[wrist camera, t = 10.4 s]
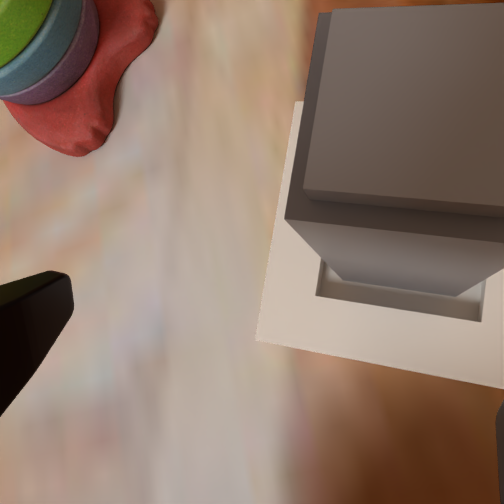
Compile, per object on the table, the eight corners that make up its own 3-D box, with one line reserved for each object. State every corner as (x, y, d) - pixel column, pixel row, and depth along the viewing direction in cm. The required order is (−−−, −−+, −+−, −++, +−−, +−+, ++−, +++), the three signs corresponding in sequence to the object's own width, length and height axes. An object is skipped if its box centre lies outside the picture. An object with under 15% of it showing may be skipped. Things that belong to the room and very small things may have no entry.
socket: (561, 120, 21) (571, 108, 19) (535, 393, 19) (544, 397, 18) (300, 112, 24) (295, 101, 23) (261, 339, 23) (254, 339, 22)
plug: (468, 188, 21) (579, -25, 9) (455, 296, 20) (553, 238, 8) (357, 179, 23) (313, -11, 10) (342, 280, 22) (274, 209, 9)
